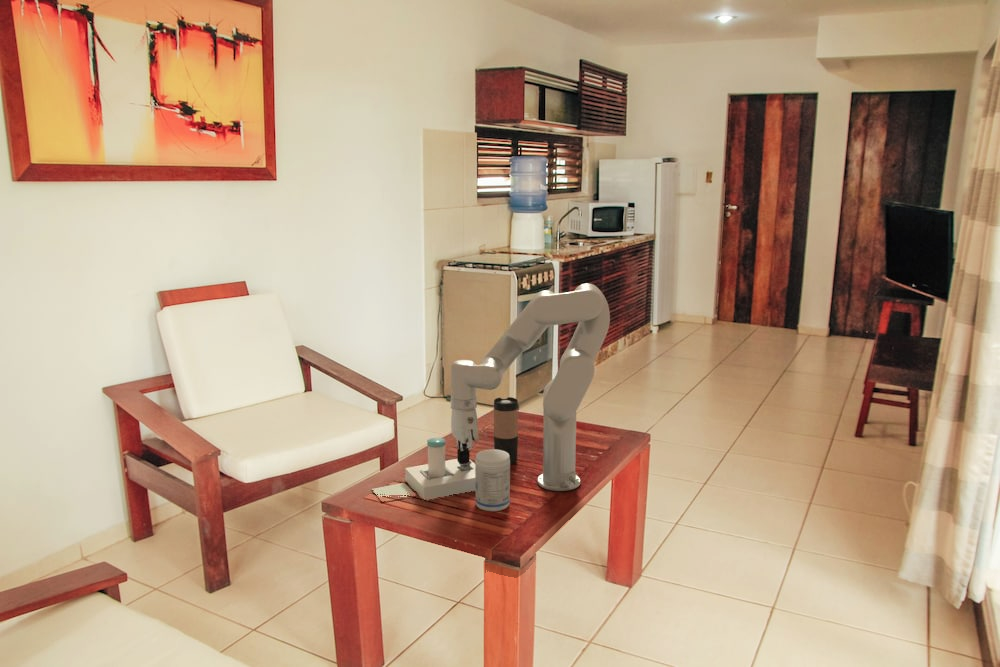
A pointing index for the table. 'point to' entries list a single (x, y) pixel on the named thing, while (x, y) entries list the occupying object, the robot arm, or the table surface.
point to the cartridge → (436, 457)
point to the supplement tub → (492, 480)
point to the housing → (441, 480)
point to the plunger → (465, 466)
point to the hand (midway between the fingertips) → (463, 461)
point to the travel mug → (506, 426)
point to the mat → (393, 490)
